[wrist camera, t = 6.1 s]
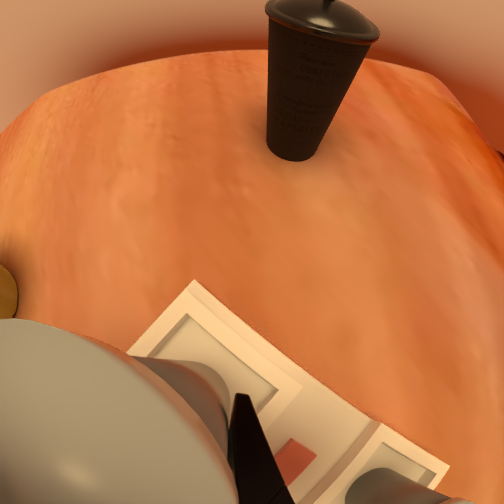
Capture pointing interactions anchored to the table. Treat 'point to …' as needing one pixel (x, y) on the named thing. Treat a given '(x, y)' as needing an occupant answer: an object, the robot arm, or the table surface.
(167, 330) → the peg insertion board
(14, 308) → the plant pot
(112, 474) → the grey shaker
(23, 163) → the table surface
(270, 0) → the drinking cup
